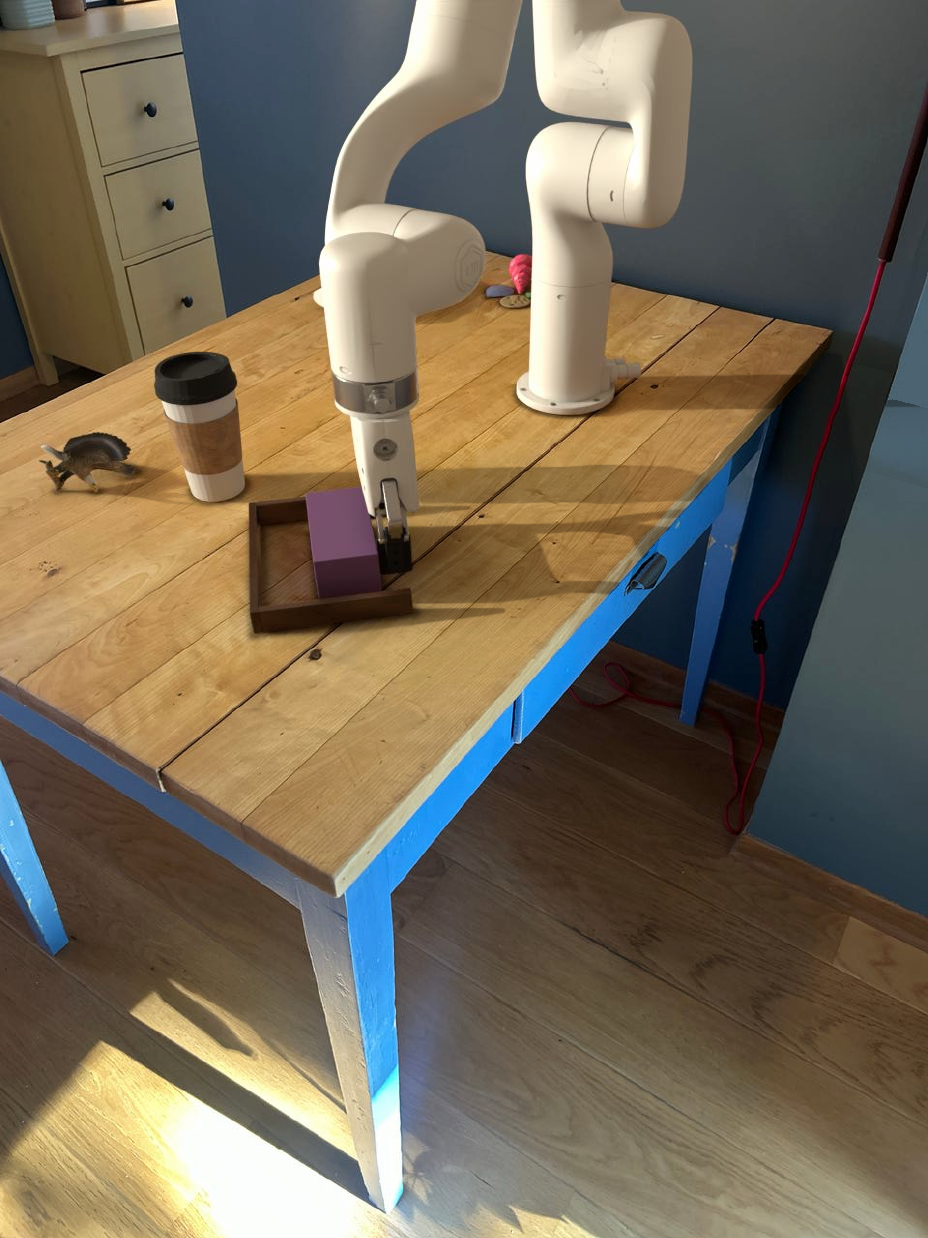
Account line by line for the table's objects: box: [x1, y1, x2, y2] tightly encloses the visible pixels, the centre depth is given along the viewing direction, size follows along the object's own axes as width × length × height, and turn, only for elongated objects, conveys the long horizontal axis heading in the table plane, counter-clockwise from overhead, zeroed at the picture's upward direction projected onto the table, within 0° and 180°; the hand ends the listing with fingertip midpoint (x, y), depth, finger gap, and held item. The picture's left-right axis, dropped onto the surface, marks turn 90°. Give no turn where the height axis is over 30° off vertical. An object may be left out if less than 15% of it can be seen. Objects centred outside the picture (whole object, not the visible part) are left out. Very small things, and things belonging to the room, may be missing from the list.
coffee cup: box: [153, 351, 246, 503], centre depth 100 cm, size 8×8×15 cm
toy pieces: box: [485, 253, 532, 309], centre depth 147 cm, size 12×11×4 cm
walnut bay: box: [248, 495, 414, 634], centre depth 93 cm, size 15×19×2 cm
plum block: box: [305, 486, 383, 599], centre depth 92 cm, size 6×12×5 cm, turn 11°
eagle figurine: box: [38, 431, 137, 493], centre depth 105 cm, size 8×7×9 cm
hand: (389, 542), depth 93 cm, fingers open, 9 cm apart
